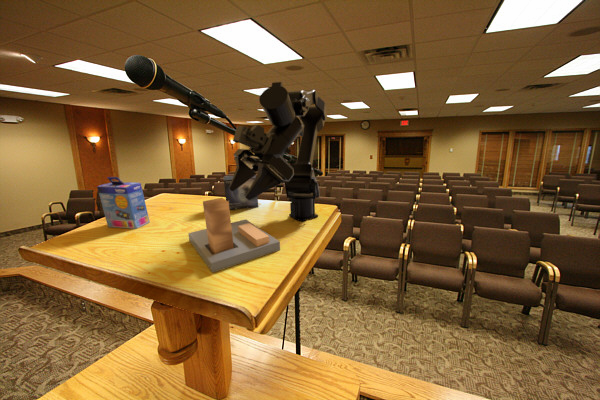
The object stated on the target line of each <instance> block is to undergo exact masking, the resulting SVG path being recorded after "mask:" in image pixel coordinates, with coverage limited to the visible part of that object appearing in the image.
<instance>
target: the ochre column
mask: <svg viewBox="0 0 600 400" xmlns="http://www.w3.org/2000/svg"><path fill="white" fill-rule="evenodd" d="M202 205H203V212H204V222H205V227H206V228H205V229H207V235H208V242H209V250H210V253H211V254H212V255H214V254H217V253H220V252H224V251H227V250H230V249H234V246H233V237H232V228H231V223H232V220H231V212H230V211H231V210H229V202H228V201H226V198H225V199H224V198H223V197H218V198H213V199H208V200H203V201H202Z"/></svg>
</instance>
